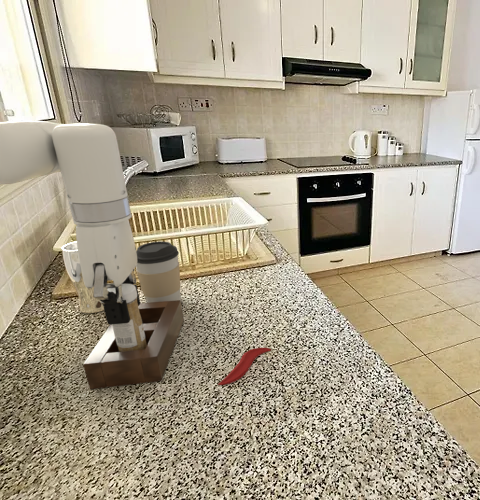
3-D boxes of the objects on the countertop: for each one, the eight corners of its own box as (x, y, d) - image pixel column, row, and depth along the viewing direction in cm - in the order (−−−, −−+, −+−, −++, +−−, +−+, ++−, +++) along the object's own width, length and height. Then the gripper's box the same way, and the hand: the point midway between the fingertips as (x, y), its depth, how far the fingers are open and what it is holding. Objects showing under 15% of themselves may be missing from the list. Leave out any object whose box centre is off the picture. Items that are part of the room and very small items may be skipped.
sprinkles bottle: (154, 350, 68) (141, 284, 63) (135, 366, 64) (120, 296, 59) (133, 346, 69) (119, 280, 64) (113, 361, 65) (96, 292, 60)
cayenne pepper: (264, 345, 73) (263, 337, 72) (279, 355, 70) (278, 346, 69) (207, 376, 64) (206, 367, 64) (222, 388, 62) (221, 379, 61)
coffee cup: (133, 310, 84) (120, 248, 78) (166, 293, 92) (155, 235, 86) (164, 319, 81) (152, 255, 75) (194, 300, 88) (186, 241, 83)
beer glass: (120, 304, 86) (106, 244, 80) (87, 318, 80) (69, 253, 75) (104, 296, 89) (90, 237, 84) (71, 308, 84) (54, 246, 78)
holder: (89, 389, 61) (82, 364, 59) (128, 325, 78) (124, 304, 76) (162, 381, 63) (157, 356, 61) (184, 320, 81) (180, 299, 79)
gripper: (96, 197, 63) (118, 292, 70) (43, 228, 48) (77, 346, 55) (144, 196, 65) (161, 289, 72) (107, 225, 49) (133, 341, 56)
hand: (124, 313), depth 63 cm, fingers closed on sprinkles bottle, 4 cm apart
